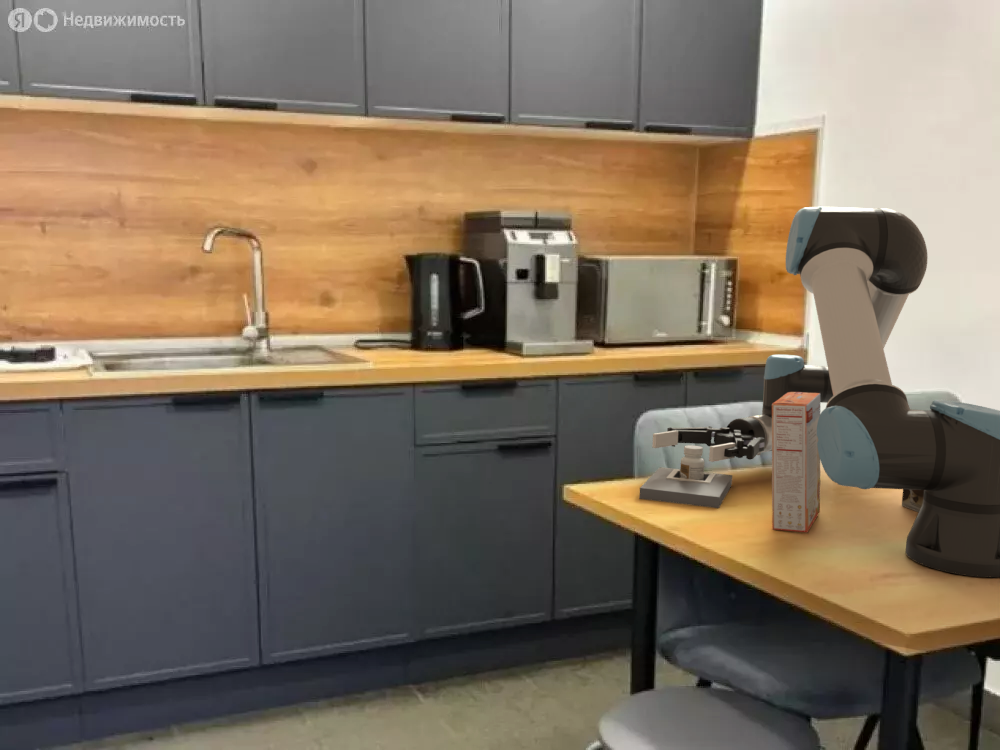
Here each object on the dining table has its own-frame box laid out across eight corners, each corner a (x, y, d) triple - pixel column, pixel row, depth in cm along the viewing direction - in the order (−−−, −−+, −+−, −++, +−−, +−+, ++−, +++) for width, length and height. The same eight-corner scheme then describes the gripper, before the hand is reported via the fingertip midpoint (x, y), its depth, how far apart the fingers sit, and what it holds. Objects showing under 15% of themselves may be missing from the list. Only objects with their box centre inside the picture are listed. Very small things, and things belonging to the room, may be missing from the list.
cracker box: (784, 510, 164) (786, 390, 162) (821, 513, 161) (823, 392, 159) (768, 530, 152) (770, 401, 149) (807, 534, 149) (809, 403, 147)
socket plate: (718, 508, 164) (719, 495, 164) (639, 498, 169) (639, 486, 168) (731, 485, 181) (732, 474, 180) (659, 477, 185) (659, 466, 185)
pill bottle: (676, 484, 180) (678, 444, 179) (698, 484, 181) (701, 444, 180) (683, 490, 176) (685, 449, 175) (706, 490, 176) (708, 449, 175)
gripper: (804, 466, 180) (735, 480, 166) (700, 443, 199) (631, 454, 185) (807, 427, 179) (738, 439, 165) (702, 407, 198) (633, 417, 184)
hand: (681, 447), depth 175 cm, fingers open, 13 cm apart
